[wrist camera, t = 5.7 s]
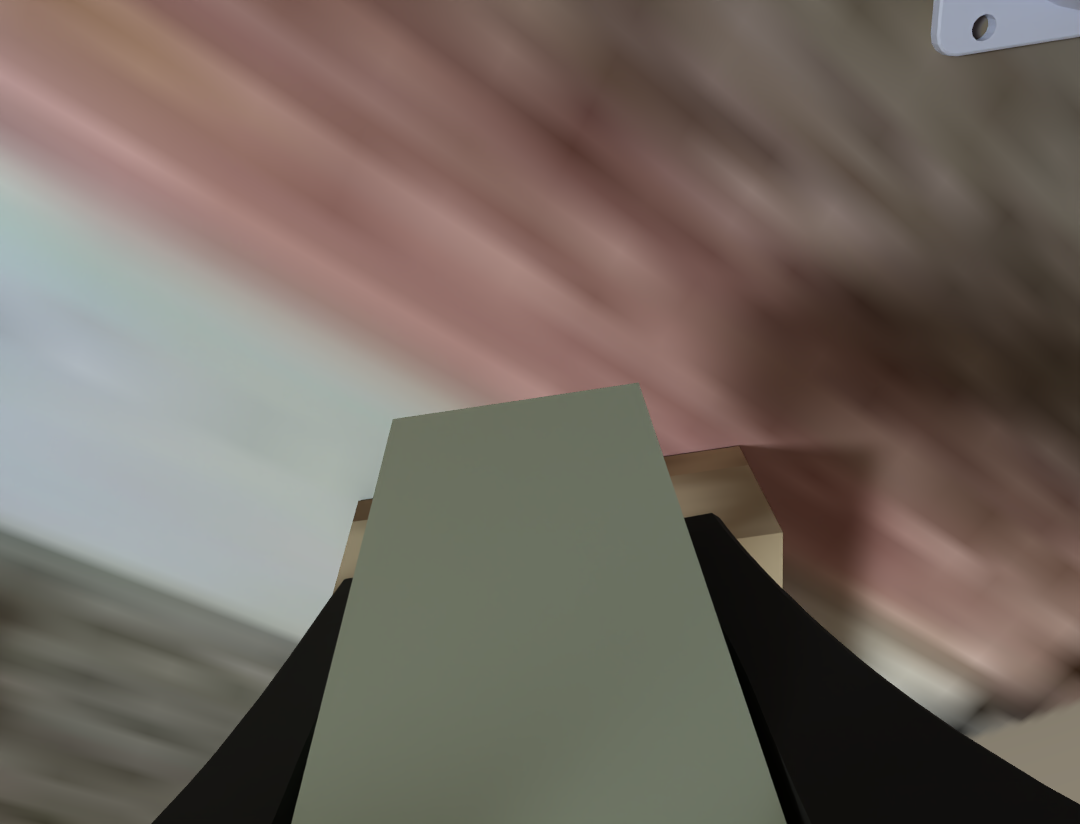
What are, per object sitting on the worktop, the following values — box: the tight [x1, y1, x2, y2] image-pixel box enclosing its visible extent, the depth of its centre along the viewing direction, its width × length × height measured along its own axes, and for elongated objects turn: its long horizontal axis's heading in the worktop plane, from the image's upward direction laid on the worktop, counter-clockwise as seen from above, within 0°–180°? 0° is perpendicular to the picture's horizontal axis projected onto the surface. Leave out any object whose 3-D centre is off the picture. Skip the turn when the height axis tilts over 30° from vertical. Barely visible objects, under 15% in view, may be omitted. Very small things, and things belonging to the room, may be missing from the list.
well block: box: [333, 446, 783, 594], centre depth 23 cm, size 11×11×4 cm
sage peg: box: [291, 383, 787, 824], centre depth 10 cm, size 4×4×8 cm
